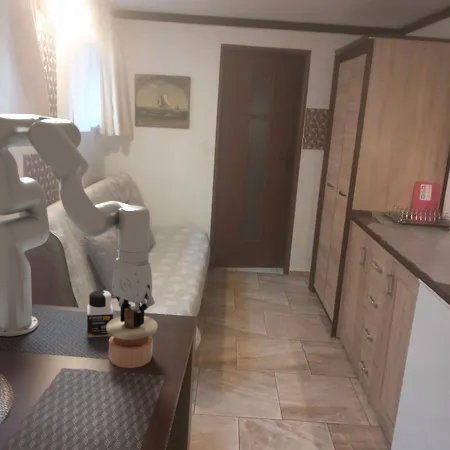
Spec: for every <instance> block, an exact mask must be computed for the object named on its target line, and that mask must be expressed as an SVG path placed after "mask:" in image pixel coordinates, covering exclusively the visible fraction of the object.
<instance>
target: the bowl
mask: <svg viewBox="0 0 450 450" xmlns="http://www.w3.org/2000/svg"><path fill="white" fill-rule="evenodd" d="M153 349H154V338H153V337H152V335H151V336H149V337H147V338H143V339H137V340H124V339H118V338H115V337H113V336H109V339H108V360H109V361H110V363H111V364H112V365H114V366H117V367H119V368H127V369H133V368H139V367H144V366H145V365H147V364H148V363H150V362H151V360H152V359H153V351H154V350H153Z"/></svg>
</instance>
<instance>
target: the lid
mask: <svg viewBox="0 0 450 450" xmlns="http://www.w3.org/2000/svg"><path fill="white" fill-rule="evenodd" d="M135 312H136V308H135V305H131V306H129V307H126V308H125V313H124V322H121V321H120V316H117V317H115V318H114V317H113V319H112V320H110V321H109V322H108V323H107V326H106V330H107V333H108V334H109V335H111V336H113V337H115V338H118V339H124V340H137V339H143V338H147V337H149V336H151V337H152V336H153V335H154V334H156V332H157V331H158V322H157V321H156V320H155V319H154V318H152V317H149V316H145V315H144V324H142V325H140V326H138V327H134V313H135ZM111 336H110V337H111Z"/></svg>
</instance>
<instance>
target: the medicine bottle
mask: <svg viewBox="0 0 450 450" xmlns="http://www.w3.org/2000/svg"><path fill="white" fill-rule="evenodd" d="M88 300H89V301H88V303H89V304H87V305H86V306H87V308H86V309H87V310H86V311H87V312H86V313H87V314H86V336H87V338H94V337H95V338H96V337H111V335H109V334H108V333H107V330H106V326H107V323H108V322H109V321H110V320H112V319H114V308H113V304H112V293H110V292H109V291H107V290H104V289H103V290H102V289H98V290H94V291H92V292H90V294H89V297H88Z"/></svg>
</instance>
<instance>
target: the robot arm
mask: <svg viewBox="0 0 450 450" xmlns="http://www.w3.org/2000/svg"><path fill="white" fill-rule="evenodd" d="M81 142H82V134H81V131H80V129H79V127H78V126H77V125H76V124H75V123H74V122H72V121H71V120H69V119H64V118H63V119H62V118H57V117H55V118H54V117H49V116H43V115H38V114H27V113H26V114H21V113H20V114H18V113H0V216H9V215H15V214H18V217H15V218H14V217H13V218H10V219H7V220H3V221H0V336H1V337H16V336H22V335H26V334H28V333H31V332H33V331H34V330H35V329H36V328H37V327H38V326H39V325H38V324H39V323H38V322H39V320H38V319H37V317H35V316H33V308H32V305H33V304H32V303H33V302H32V299H33V298H32V271H31V270H32V269H31V263H30V261H29V260H28V258H27V257H26V254H25V252H26V251H28V250H32V249H34V248H36V247H39V246H41V245H43V244H45V243H46V241H48V239H49V236H50V223H49V214H48V207H47V200H46V195H45V192H44V189H43V187H42V186H41V184H40V183H39V182H38V181H37V180H36V179H34V178H31V177H27V176H25V177H24V176H23V177H20V173H19V169H18V168H19V167H18V163H17V160H16V159H15V158H16V157H14V155H13V154H12V152H11V151H10V150H9V148H13V147H14V148H15V147H17V148H18V147H33V149H34V150H35V151H36V153H37V154H38V155H39V156H40V159H42V161H43V162H44V163H45V165H46V166H47V167H48V169H50V171H51V173H52V174H53V175H54V176H55V178H56V179H57V181H58V182H59V194H60V200H61V204H62V207H63V208H64V210H65V212H66V214H67V216H68V217H69V218H70V219H71V221H72V222H73V224H74V225H75V226H76V227H77V228H78V230H80V231H81V232H82V234H85V235H87V236H88V237H91V238H92V237H93V238H95V237H100V236H103V235H105V234H108V233H111V232H115V231H118V235H117V237H118V238H117V239H118V240H117V242H118V245H117V248H116V252H117V257H116V258H115V261H114V267H113V270H112V271H113V273H112V283H111V294H113V295H114V297H115V298H116V300H117V302H118V306H119V307H120V315H119V317H120V321H121V322H124V313H125V308H126V307H129V306H132V304H131V303H134V306H135V308H136V312H135V313H134V327H138V326H140V325H142V324H144V316H145V311H146V310H147V309H148V308H150V307H151V306H154V305H156V302H155V299H154V297H153V295H152V294H153V274H152V267H151V262H150V260H149V253H150V250H149V249H150V222H151V220H150V216H151V215H150V210H149V209H148V207H145V206H142V205H130V204H128V203H127V204H126V203H124V202H121V201H118V200H109V201H105V202H104V201H103V202H101V203H98V204H94V203H93V201H92V200H91V199H90V197H89V196H88V195H87V193H86V191H85V189H84V187H83V182H82V181H83V179H82V178H83V177H84V176H85V174H86V173H87V172H88V169H89V163H88V161H87V160H86V159H85V157H84V156H83V154H82V153H81V152H80V151H79V149H78V147H79V146H80V145H81ZM130 302H131V303H130Z"/></svg>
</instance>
